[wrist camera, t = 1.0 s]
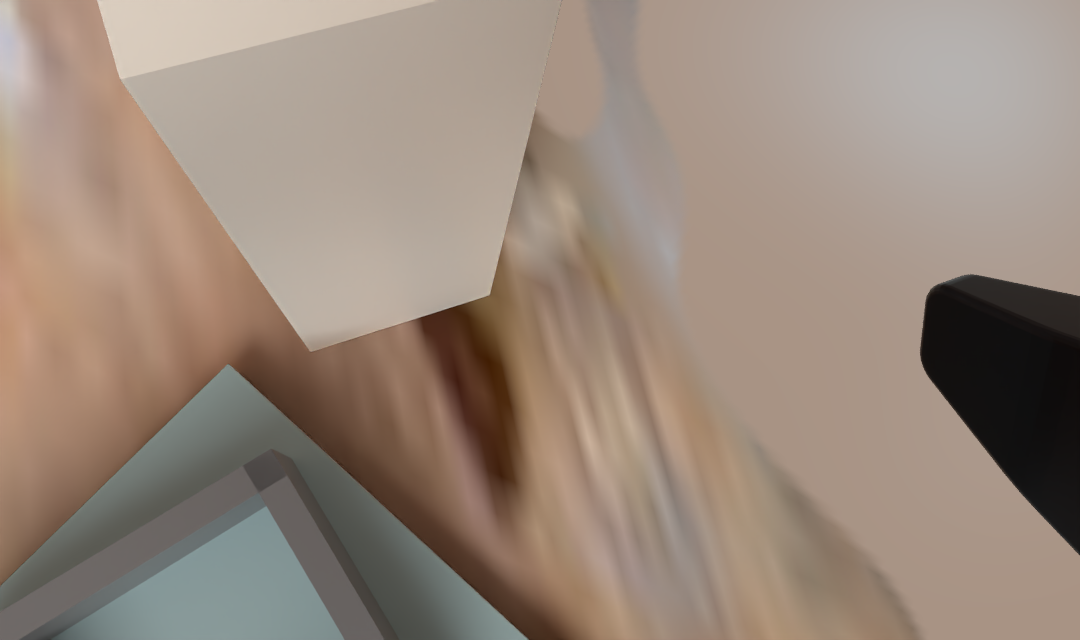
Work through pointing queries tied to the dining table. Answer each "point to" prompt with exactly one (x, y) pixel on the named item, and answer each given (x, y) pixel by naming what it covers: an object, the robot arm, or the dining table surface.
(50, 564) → the socket plate
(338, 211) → the block
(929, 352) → the robot arm
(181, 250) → the dining table surface
